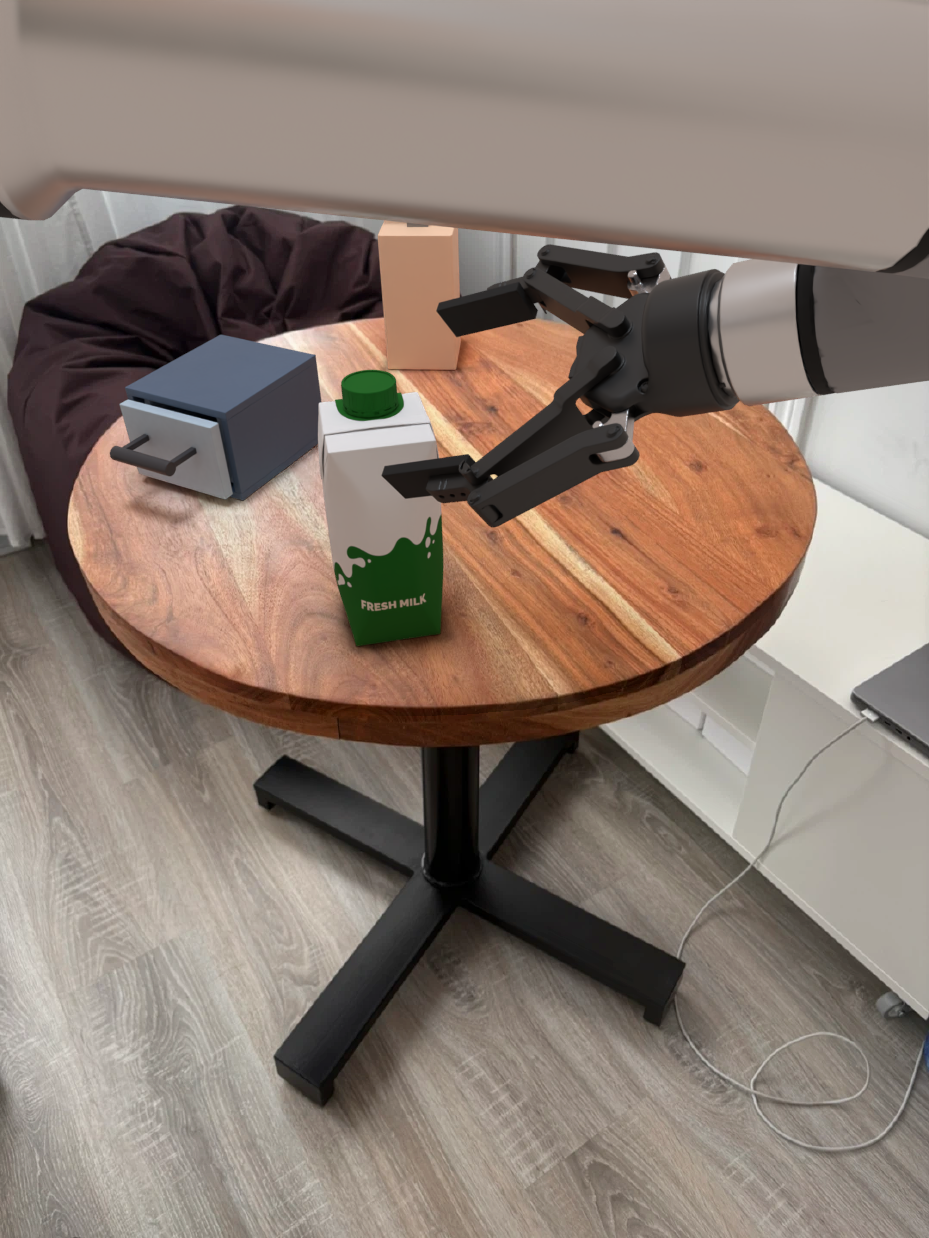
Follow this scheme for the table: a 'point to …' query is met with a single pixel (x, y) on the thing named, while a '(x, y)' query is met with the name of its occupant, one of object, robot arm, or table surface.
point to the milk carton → (380, 510)
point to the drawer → (176, 447)
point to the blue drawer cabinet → (245, 402)
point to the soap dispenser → (418, 294)
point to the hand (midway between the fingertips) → (421, 398)
